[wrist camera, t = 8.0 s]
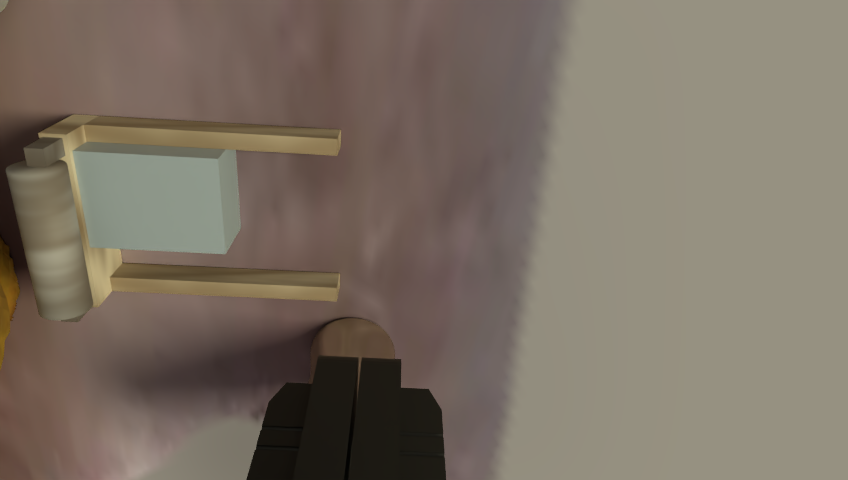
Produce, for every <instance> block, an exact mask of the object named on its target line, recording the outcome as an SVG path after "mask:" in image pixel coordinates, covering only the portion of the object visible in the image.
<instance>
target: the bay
mask: <svg viewBox="0 0 848 480" xmlns="http://www.w3.org/2000/svg"><path fill="white" fill-rule="evenodd" d="M38 135H39V140H37V141H35V142H33V143H31V144H30V145H28V146H26V147H24V148H23V149H24V154H25V158H26V160H24V161H20V162H17V163H14V164H11V165H10V166H8V167H7V168H6V174H7V178H8V183H9V187H10V191H11V196H12V200H13V204H14V208H15V213H16V217H17V221H18V226H19V230H20V234H21V239H22V243H23V247H24V251H25V256H26V260H27V264H28V269H29V273H30V277H31V281H32V286H33V290H34V294H35V299H36V303H37V307H38V312H39V315H40V316H41V317H42V318H45V319H48V320H61V321H65V322H79V321H80V319H81V318H82V317H83V316H84V315H85V314H86V312H87V311H89V310H90V309H91V308H92V307H99V306H100V304H101V303H102V302H103V301H104V300H105V299H106V297H107V296H108V295H109V294H110V293H111V291H124V292H146V293H168V294H190V295H212V296H234V297H256V298H278V299H300V300H322V301H337V297H338V292H339V287H340V273H324V272H303V271H282V270H261V269H240V268H219V267H198V266H177V265H156V264H135V263H122V257H121V251H120V249H111V248H90V245H89V239H88V234H87V228H86V223H85V217H84V212H83V206H82V201H81V195H80V190H79V185H78V179H77V174H76V168H75V163H74V157H73V152H72V151H73V150H75V149H76V148H78V147H79V146H81V145H82V144H84V143H86V142H102V143H120V144H138V145H156V146H174V147H192V148H210V149H228V150H246V151H265V152H283V153H301V154H319V155H338V152H339V149H340V146H341V130H339V129H321V128H304V127H286V126H269V125H251V124H234V123H216V122H198V121H181V120H163V119H146V118H128V117H111V116H93V115H76V114H73V115H71V116H69V117H68V118H66V119H64V120H62V121H60V122H58V123H56V124H54V125H52V126H51V127H49V128H47V129H45V130H43V131H41V132H39V133H38Z"/></svg>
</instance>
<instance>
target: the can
mask: <svg viewBox="0 0 848 480" xmlns="http://www.w3.org/2000/svg"><path fill="white" fill-rule="evenodd" d="M8 1H9V0H0V12H1V11H3V10H4V9H5V8H6V5H7V3H8Z"/></svg>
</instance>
